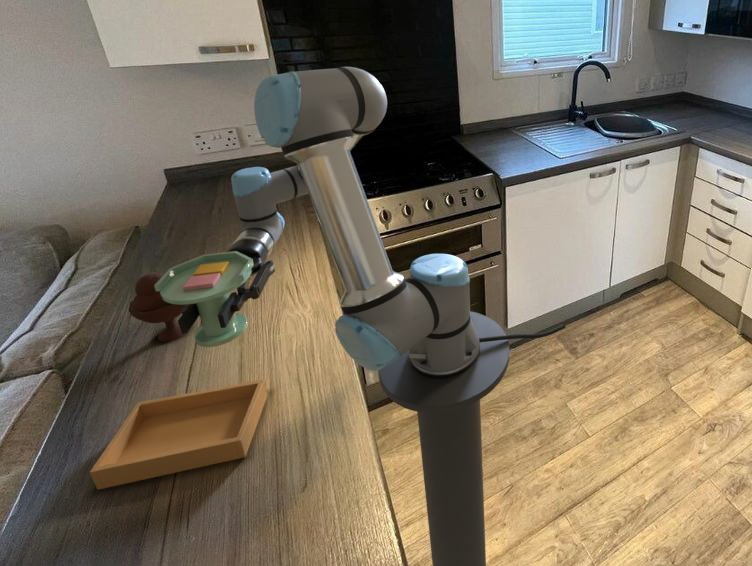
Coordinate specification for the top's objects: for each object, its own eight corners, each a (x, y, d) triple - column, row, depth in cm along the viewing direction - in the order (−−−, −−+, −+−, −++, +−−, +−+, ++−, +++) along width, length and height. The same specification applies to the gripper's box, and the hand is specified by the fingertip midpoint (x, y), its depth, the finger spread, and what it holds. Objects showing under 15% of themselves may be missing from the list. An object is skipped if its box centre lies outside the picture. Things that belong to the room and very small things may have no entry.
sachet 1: (229, 265, 81) (228, 261, 80) (222, 274, 78) (221, 271, 78) (201, 268, 80) (200, 264, 79) (193, 278, 77) (192, 274, 76)
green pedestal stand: (271, 304, 89) (259, 248, 84) (250, 350, 77) (234, 288, 72) (197, 314, 85) (180, 257, 81) (163, 364, 73) (140, 299, 69)
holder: (268, 394, 82) (264, 379, 81) (245, 457, 71) (240, 440, 70) (143, 418, 77) (137, 402, 76) (97, 490, 66) (89, 472, 64)
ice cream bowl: (139, 358, 90) (117, 297, 85) (144, 328, 98) (124, 270, 93) (203, 337, 96) (185, 279, 91) (202, 310, 104) (187, 255, 99)
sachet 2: (221, 276, 77) (220, 272, 77) (213, 287, 74) (212, 283, 74) (192, 280, 76) (191, 276, 76) (183, 291, 73) (182, 287, 73)
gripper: (297, 263, 99) (266, 332, 78) (204, 273, 94) (145, 351, 73) (291, 233, 96) (257, 297, 75) (196, 243, 92) (131, 314, 71)
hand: (202, 324), depth 74 cm, fingers closed on green pedestal stand, 5 cm apart
